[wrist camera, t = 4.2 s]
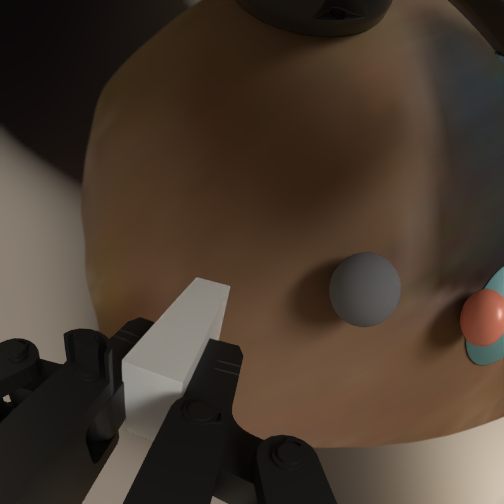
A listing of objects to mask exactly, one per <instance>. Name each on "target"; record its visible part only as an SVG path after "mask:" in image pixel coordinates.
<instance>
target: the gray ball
mask: <svg viewBox="0 0 504 504" xmlns="http://www.w3.org/2000/svg"><path fill="white" fill-rule="evenodd" d="M400 293H401V284H400V279H399V276H398V273H397V271H396V269H395V268H394V266H393V265H392V264H391V263H390V262H389V261H388V260H387V259H385V258H384V257H382V256H380V255H377V254H374V253H358V254H354V255H352V256H350V257H348V258H346V259H345V260H344V261H342V262H341V263H340V264H339V265H338V267H337V268H336V269H335V271H334V273H333V275H332V277H331V280H330V285H329V297H330V301H331V304H332V307H333V309H334V310H335V312H336V313H337V315H338V316H339V317H340V318H341V319H343V320H344V321H345V322H347V323H349V324H351V325H354V326H358V327H370V326H374V325H377V324H379V323H381V322H383V321H384V320H386V319H387V318H388V317H389V316H390V315H391V314H392V313H393V311H394V310H395V308H396V307H397V305H398V302H399V299H400Z"/></svg>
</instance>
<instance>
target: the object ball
mask: <svg viewBox="0 0 504 504" xmlns="http://www.w3.org/2000/svg"><path fill="white" fill-rule="evenodd" d="M460 326H461V330H462V333H463V335H464V337H465V338H466V339H467V340H468V341H469V342H470V343H471V344H473V345H475V346H480V347H484V346H489V345H491V344H493V343H495V342H496V341H497V340H499V339H500V337H501V336H502V335H503V333H504V297H503V296H502V295H501V294H500V293H498V292H497V291H495V290H492V289H482V290H479V291H477V292H475V293H473V294H472V295H471V296H470V297H469V298H468V299H467V301H466V302H465V304H464V306H463V308H462V311H461V315H460Z"/></svg>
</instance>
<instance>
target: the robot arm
mask: <svg viewBox="0 0 504 504" xmlns="http://www.w3.org/2000/svg"><path fill="white" fill-rule="evenodd" d="M237 1H238V2H239V3H240V5H241V6H242V7H243V8H244V9H245V10H247V11H248V12H249V13H250V14H252V15H253V16H255V17H257V18H258V19H260V20H262V21H264V22H266V23H268V24H270V25H273V26H275V27H278V28H281V29H284V30H288V31H291V32H296V33H300V34H306V35H313V36H346V35H352V34H356V33H360V32H363V31H365V30H368V29H370V28H372V27H373V26H375V25H376V24H377V23H379V22H380V21H381V19H382V18H383V17H384V15H385V14H386V12H387V10H388V9H389V7H390V5H391V3H392V0H237ZM448 1H449V2H450V3H451V4H452V5H453V6H455V7H456V8H457V9H458V10H459V11H460V12H461V13H462V14H463V15H464V16H465V17H466V18H467V19H468V20H469V21H470V23H471V24H472V25H473V26H474V27H475V28H476V29H477V30H478V31H479V32H480V33H481V35H482V36H483V37H484V38H485V39H486V40H487V42H488V43H489V44H490V45H491V46H492V48H493V49H494V52H495V54H496V56H497V57H498V58H499V59H500V61H501V62H503V63H504V0H448ZM229 290H230V286H228V285H224V284H220V283H217V282H213V281H209V280H205V279H202V278H198V277H196V278H195V280H194V281H193V282H192V283H191V284H190V285H189V286H188V287H187V288H186V289H185V290H184V291H183V293H182V294H181V295H180V296H179V297H178V298H177V299H176V300H175V301H174V302H173V304H172V305H171V306H170V307H169V308H168V309H167V310H166V311H165V312H164V313H163V315H162V316H161V317H160V318H159V319H158V320H157V321H156V322H152V321H149V320H146V319H144V318H141V317H140V318H137V319H134V320H132V321H129V322H127V323H126V324H125V325H124V326H123V327H122V328H121V330H119V331H118V332H117V333H116V334H115V335H114V336H112V337H111V338H110V339H108V338H107V336H105V335H103V334H102V333H100V332H98V331H94V330H91V329H75V330H71V331H68V332H66V333H65V334H64V343H65V351H66V357H67V361H66V362H65V363H64V364H58V363H54V362H50V361H46V360H43V359H40V357H39V352H38V349H37V347H36V346H35V345H34V344H33V343H32V342H30V341H28V340H25V339H18V338H17V339H16V338H14V339H10V340H6V341H4V342H1V343H0V504H82V502H83V501H84V499H85V497H86V495H87V494H88V492H89V490H90V489H91V487H92V485H93V483H94V482H95V480H96V478H97V477H98V475H99V473H100V472H101V470H102V468H103V467H104V465H105V463H106V462H107V460H108V458H109V456H110V455H111V453H112V452H113V450H114V448H115V447H116V445H117V443H118V440H119V432H118V429H119V428H120V426H121V425H122V423H123V422H124V420H125V425H126V430H127V431H129V432H132V433H134V434H136V435H139V436H141V437H144V438H146V439H149V440H152V441H153V443H152V445H151V447H150V449H149V451H148V453H147V455H146V457H145V460H144V461H143V464H142V466H141V468H140V470H139V472H138V474H137V476H136V478H135V480H134V482H133V484H132V486H131V488H130V490H129V492H128V494H127V496H126V498H125V500H124V502H123V504H210V503H211V499H212V496H214V497H216V498H218V499H220V500H222V501H224V502H226V503H228V504H337V502H336V500H335V497H334V495H333V493H332V490H331V488H330V485H329V483H328V481H327V478H326V476H325V473H324V471H323V468H322V466H321V463H320V461H319V458H318V456H317V454H316V452H315V451H314V449H313V448H312V447H311V446H310V445H309V444H307V443H306V442H305V441H303V440H301V439H298V438H296V437H293V436H287V435H277V436H271V437H269V438H267V439H266V440H262V439H260V438H258V437H256V436H254V435H251V434H250V433H248V432H246V431H245V430H243V429H242V428H241V427H240V426H239V425H238V424H237V423H236V421H235V420H234V418H233V415H232V405H233V400H234V396H235V391H236V387H237V382H238V378H239V373H240V369H241V364H242V360H243V354H242V352H241V349H240V347H239V346H237V345H233V344H230V343H226V342H222V341H218V340H219V336H220V331H221V327H222V322H223V317H224V313H225V308H226V304H227V299H228V295H229ZM8 394H9V397H10V399H11V402H5V401H4V400H3V398H2V397H4V396H6V395H8Z"/></svg>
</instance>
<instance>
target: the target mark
mask: <svg viewBox="0 0 504 504" xmlns="http://www.w3.org/2000/svg"><path fill="white" fill-rule="evenodd" d="M484 289H492V290H495V291H497V292H498V293H500V294H501V295H502V296H503V297H504V266H503V267H501V268H500V269H499V270H498V271H497V272H496V273H495V274H494V275H493V276H492V277H491V279H490V280H489V281H488V283H487V284H486V285H485V287H484ZM466 349H467V353H468V355H469V357H470V358H471V360H472V361H473V362H475V363H476V364H479V365H488V364H492V363H494V362H496V361H498V360H500V359H501V358H503V357H504V333H503V335H502V336H501V337H500V339H499V340H497V341H496V342H495V343H493V344H491V345H489V346H484V347H480V346H475V345H473V344H471V343H470V342H469V341H468V340H467V339H466Z"/></svg>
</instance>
